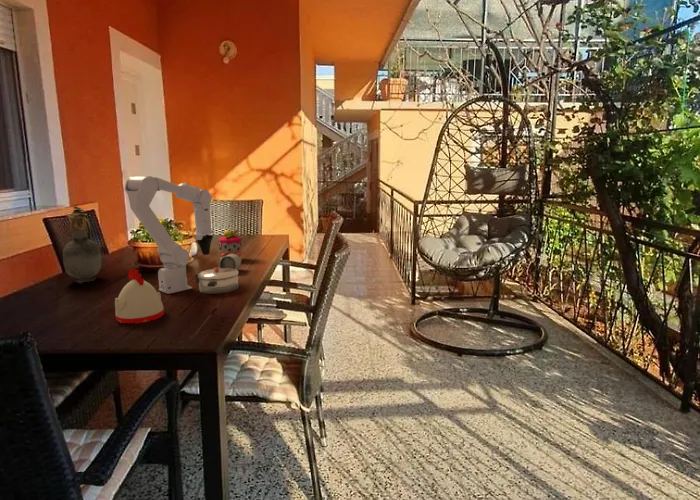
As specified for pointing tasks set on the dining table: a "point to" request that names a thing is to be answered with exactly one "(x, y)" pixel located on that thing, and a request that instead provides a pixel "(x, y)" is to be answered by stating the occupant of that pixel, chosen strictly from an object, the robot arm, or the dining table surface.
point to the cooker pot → (218, 285)
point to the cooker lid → (217, 273)
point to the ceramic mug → (230, 261)
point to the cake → (230, 244)
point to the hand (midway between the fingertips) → (206, 254)
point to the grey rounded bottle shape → (81, 250)
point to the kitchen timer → (138, 301)
